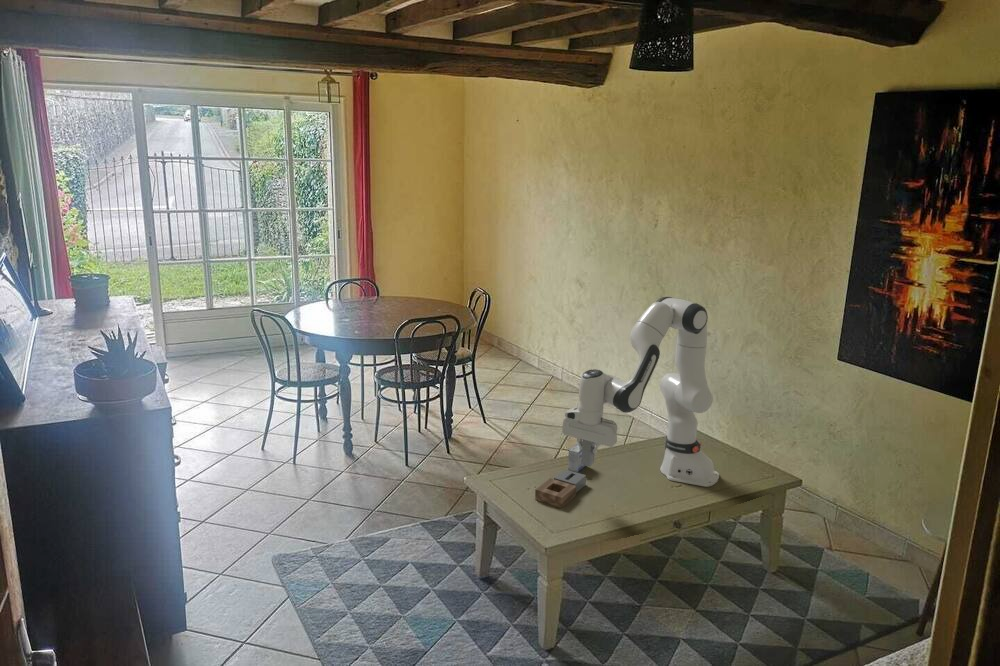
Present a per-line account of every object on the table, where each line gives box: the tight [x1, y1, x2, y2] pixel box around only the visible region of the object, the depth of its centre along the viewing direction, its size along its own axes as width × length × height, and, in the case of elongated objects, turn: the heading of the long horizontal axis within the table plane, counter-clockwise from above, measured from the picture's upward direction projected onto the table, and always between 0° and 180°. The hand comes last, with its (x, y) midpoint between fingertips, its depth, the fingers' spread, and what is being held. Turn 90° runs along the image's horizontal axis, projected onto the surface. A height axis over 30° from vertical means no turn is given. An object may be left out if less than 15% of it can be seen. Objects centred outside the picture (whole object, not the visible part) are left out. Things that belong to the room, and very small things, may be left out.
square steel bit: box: [581, 440, 596, 467], centre depth 255 cm, size 3×3×10 cm
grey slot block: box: [553, 468, 587, 494], centre depth 270 cm, size 9×9×4 cm
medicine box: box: [567, 443, 587, 473], centre depth 285 cm, size 8×4×9 cm, turn 148°
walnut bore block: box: [534, 478, 577, 509], centre depth 261 cm, size 11×11×4 cm
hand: (588, 451), depth 255 cm, fingers closed on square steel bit, 3 cm apart
